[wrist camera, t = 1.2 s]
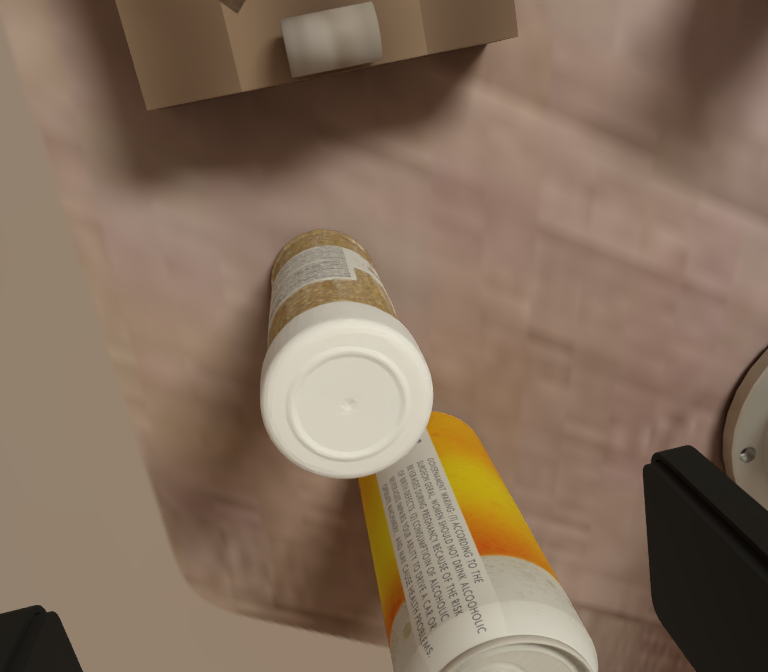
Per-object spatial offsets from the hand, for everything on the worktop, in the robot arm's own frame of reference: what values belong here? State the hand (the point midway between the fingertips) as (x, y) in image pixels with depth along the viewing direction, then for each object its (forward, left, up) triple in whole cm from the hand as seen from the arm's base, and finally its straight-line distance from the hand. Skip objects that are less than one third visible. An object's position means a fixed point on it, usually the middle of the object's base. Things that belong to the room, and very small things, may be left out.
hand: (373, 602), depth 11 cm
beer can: (-3, +10, -21) cm, 24 cm away
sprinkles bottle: (0, 0, -21) cm, 21 cm away
